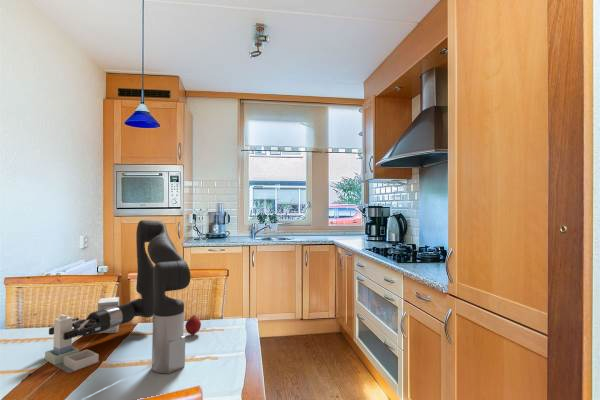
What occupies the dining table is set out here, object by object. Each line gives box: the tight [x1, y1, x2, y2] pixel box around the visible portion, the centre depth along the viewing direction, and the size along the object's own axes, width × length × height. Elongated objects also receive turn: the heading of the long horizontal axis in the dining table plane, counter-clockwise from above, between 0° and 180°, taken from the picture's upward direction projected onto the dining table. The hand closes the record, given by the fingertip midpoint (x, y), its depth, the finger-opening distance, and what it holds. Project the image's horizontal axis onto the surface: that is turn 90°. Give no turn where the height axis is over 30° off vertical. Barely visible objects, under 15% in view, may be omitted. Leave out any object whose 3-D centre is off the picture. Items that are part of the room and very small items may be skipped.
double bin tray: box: [44, 345, 100, 374], centre depth 107 cm, size 17×9×3 cm, turn 58°
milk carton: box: [52, 313, 73, 356], centre depth 109 cm, size 4×4×14 cm
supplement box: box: [96, 296, 120, 334], centre depth 135 cm, size 7×7×13 cm
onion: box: [184, 314, 202, 336], centre depth 132 cm, size 6×6×8 cm
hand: (56, 334), depth 108 cm, fingers open, 8 cm apart
